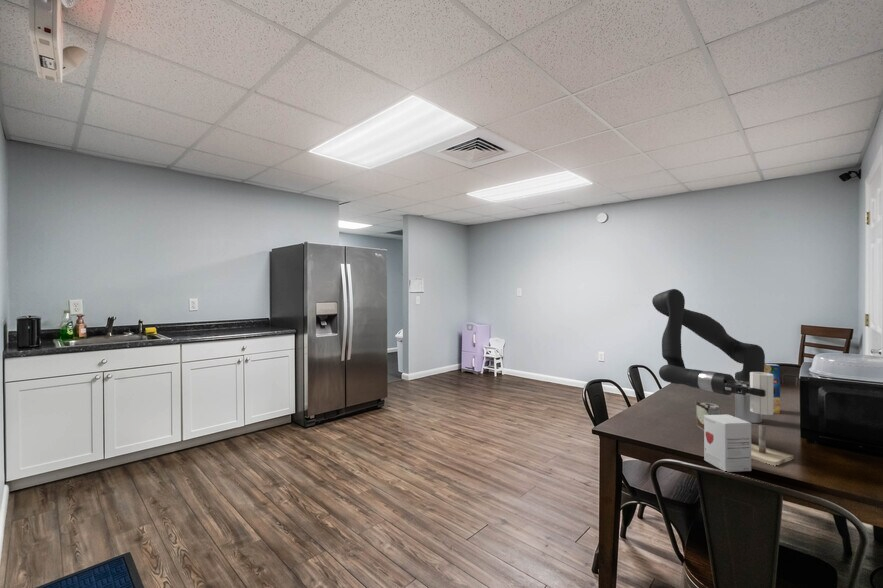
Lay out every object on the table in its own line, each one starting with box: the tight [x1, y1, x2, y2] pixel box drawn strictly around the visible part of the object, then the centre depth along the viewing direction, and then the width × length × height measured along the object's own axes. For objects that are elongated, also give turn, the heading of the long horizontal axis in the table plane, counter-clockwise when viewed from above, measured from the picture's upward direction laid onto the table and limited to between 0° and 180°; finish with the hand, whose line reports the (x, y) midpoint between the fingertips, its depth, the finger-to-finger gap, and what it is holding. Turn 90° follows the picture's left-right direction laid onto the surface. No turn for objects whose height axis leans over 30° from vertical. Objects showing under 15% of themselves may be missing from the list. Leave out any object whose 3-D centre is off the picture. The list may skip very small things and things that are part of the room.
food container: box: [694, 400, 721, 431], centre depth 157 cm, size 12×6×10 cm, turn 168°
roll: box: [750, 372, 774, 416], centre depth 131 cm, size 6×6×13 cm
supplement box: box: [703, 414, 752, 473], centre depth 124 cm, size 9×9×15 cm
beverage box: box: [764, 362, 781, 414], centre depth 184 cm, size 7×11×22 cm, turn 71°
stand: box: [751, 424, 794, 467], centre depth 131 cm, size 12×12×10 cm
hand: (770, 392), depth 129 cm, fingers closed on roll, 6 cm apart
